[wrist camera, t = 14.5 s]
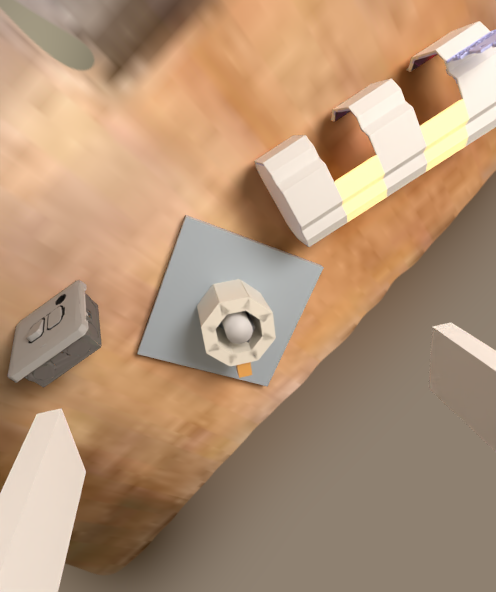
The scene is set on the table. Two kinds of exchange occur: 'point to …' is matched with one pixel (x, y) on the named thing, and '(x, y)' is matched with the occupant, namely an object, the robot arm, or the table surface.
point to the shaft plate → (215, 269)
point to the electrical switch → (55, 336)
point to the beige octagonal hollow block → (233, 300)
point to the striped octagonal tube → (386, 140)
